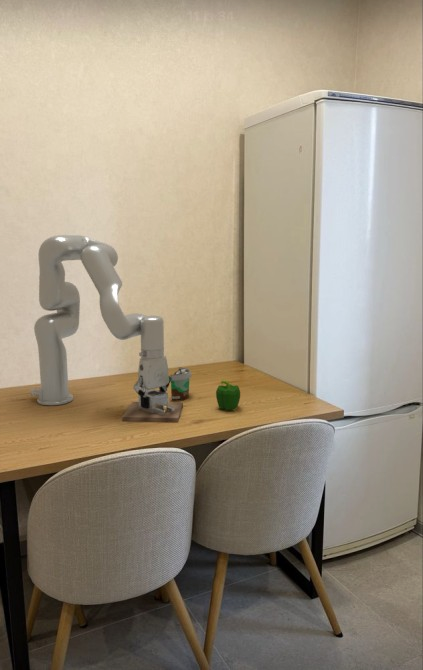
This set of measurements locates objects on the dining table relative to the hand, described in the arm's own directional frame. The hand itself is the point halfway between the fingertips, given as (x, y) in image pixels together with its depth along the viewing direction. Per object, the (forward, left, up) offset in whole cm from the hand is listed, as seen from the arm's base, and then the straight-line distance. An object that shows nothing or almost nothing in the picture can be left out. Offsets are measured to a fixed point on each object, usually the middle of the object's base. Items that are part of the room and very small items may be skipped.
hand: (153, 404), depth 177 cm
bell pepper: (+25, +6, -3) cm, 26 cm away
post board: (0, 0, -3) cm, 3 cm away
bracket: (+2, -1, -2) cm, 3 cm away
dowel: (+4, -3, -2) cm, 6 cm away
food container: (+8, +18, -3) cm, 20 cm away
